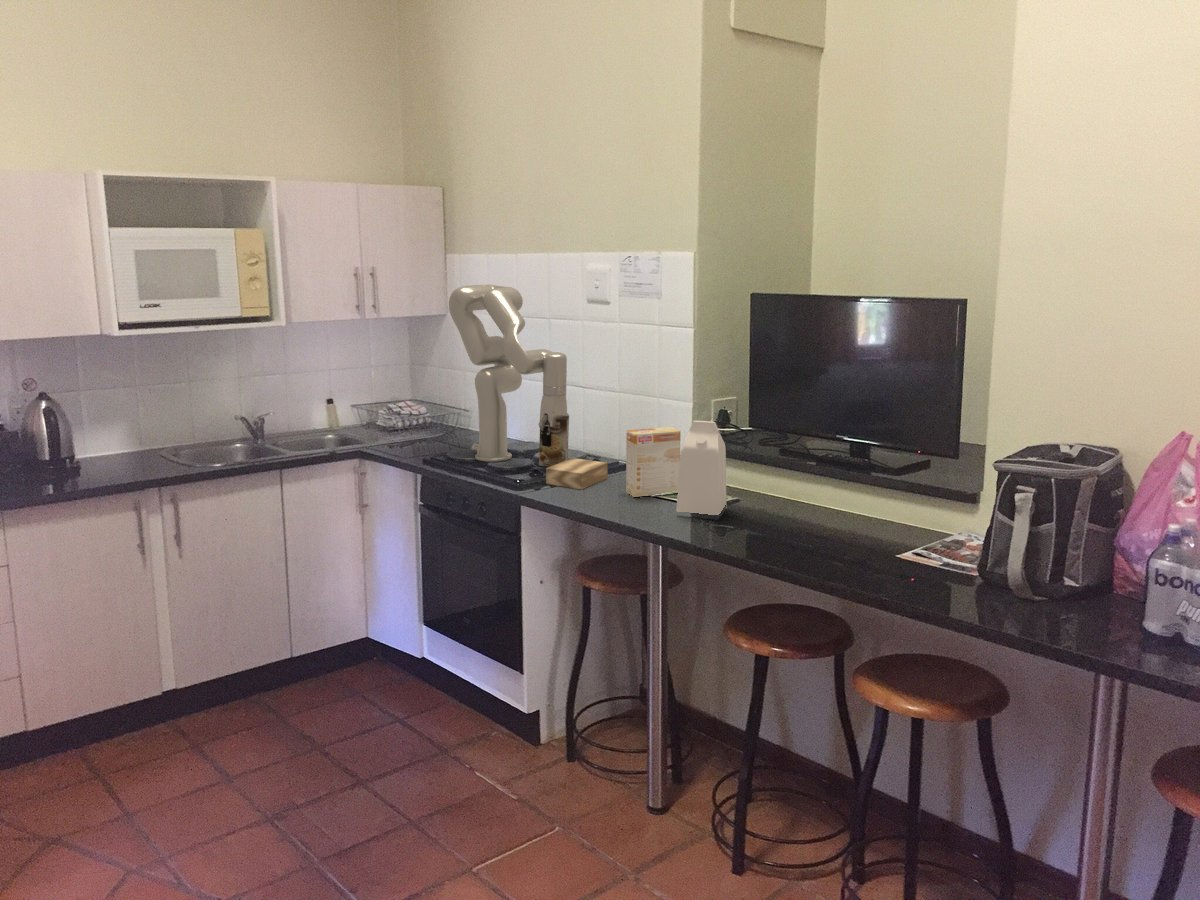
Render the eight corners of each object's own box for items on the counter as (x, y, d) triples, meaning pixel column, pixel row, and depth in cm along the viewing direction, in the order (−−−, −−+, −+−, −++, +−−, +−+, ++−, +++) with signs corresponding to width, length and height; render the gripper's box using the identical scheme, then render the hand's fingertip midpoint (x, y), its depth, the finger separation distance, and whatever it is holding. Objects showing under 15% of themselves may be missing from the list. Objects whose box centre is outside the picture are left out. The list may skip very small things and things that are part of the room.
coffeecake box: (671, 488, 296) (672, 426, 292) (680, 494, 290) (681, 430, 285) (625, 492, 291) (625, 429, 287) (633, 498, 285) (634, 433, 280)
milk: (726, 508, 275) (729, 419, 269) (718, 520, 264) (721, 426, 258) (685, 505, 278) (687, 416, 273) (675, 516, 268) (677, 424, 262)
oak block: (546, 483, 301) (545, 468, 300) (572, 472, 315) (572, 458, 313) (581, 489, 295) (581, 473, 294) (607, 478, 308) (607, 462, 307)
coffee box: (538, 466, 315) (538, 418, 311) (541, 461, 321) (541, 414, 317) (565, 467, 314) (566, 419, 310) (568, 462, 320) (569, 415, 317)
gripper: (559, 385, 321) (558, 437, 325) (529, 393, 306) (529, 447, 311) (578, 388, 317) (577, 440, 322) (549, 396, 303) (549, 450, 307)
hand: (553, 443), depth 316 cm, fingers closed on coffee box, 8 cm apart
